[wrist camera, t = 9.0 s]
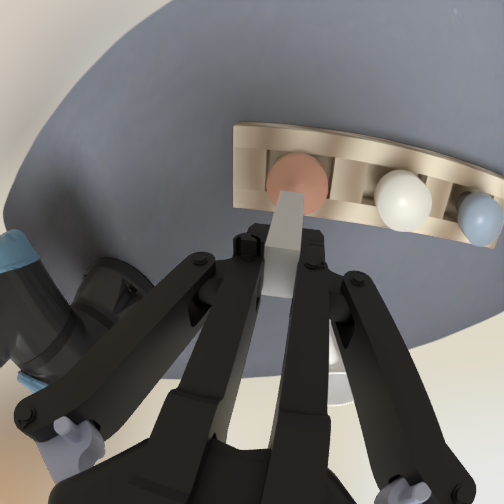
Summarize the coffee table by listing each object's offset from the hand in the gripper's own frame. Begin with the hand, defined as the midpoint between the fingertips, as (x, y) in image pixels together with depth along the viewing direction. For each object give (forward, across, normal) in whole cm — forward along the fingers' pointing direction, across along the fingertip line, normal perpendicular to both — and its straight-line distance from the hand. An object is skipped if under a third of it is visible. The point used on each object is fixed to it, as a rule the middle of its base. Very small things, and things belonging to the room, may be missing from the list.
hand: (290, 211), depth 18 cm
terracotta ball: (+9, 0, 0) cm, 9 cm away
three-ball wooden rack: (+11, +9, 0) cm, 14 cm away
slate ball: (+9, +18, 0) cm, 20 cm away
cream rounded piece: (+9, +9, 0) cm, 13 cm away
